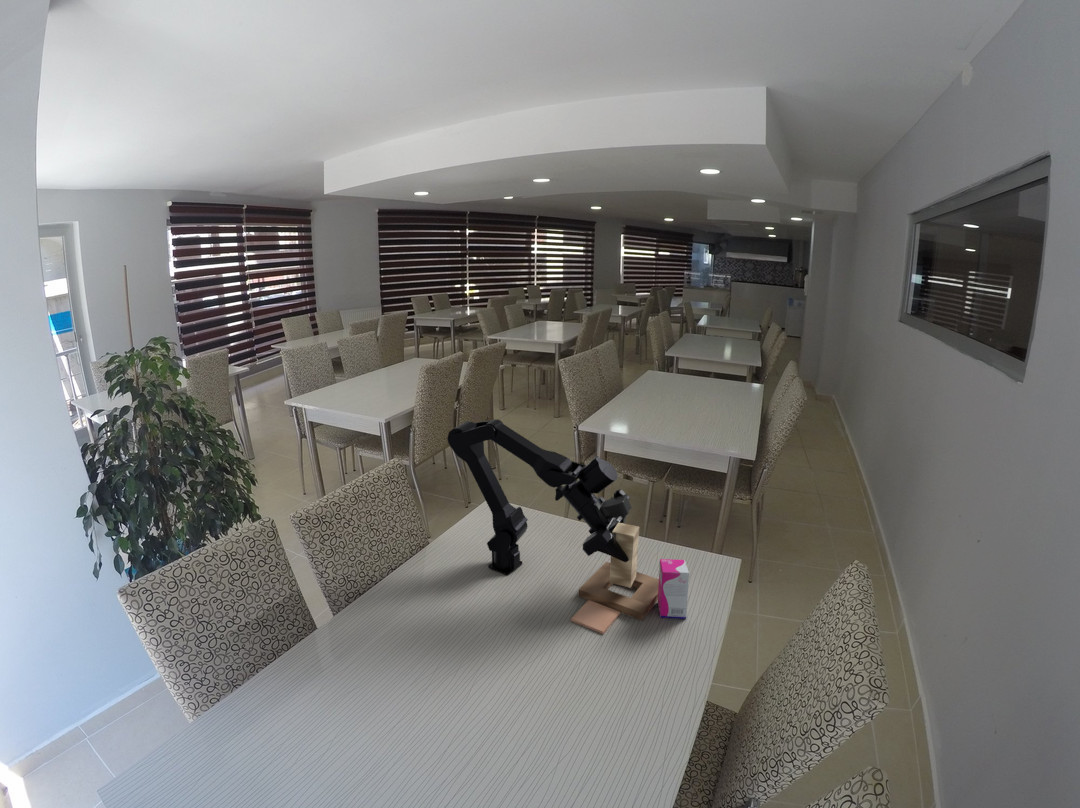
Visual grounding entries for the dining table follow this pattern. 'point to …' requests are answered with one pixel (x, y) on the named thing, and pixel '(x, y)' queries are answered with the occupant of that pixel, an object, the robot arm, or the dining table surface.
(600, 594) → the pocket board
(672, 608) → the supplement box
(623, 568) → the maple block
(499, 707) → the dining table surface
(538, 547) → the dining table surface
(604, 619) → the terracotta tile
